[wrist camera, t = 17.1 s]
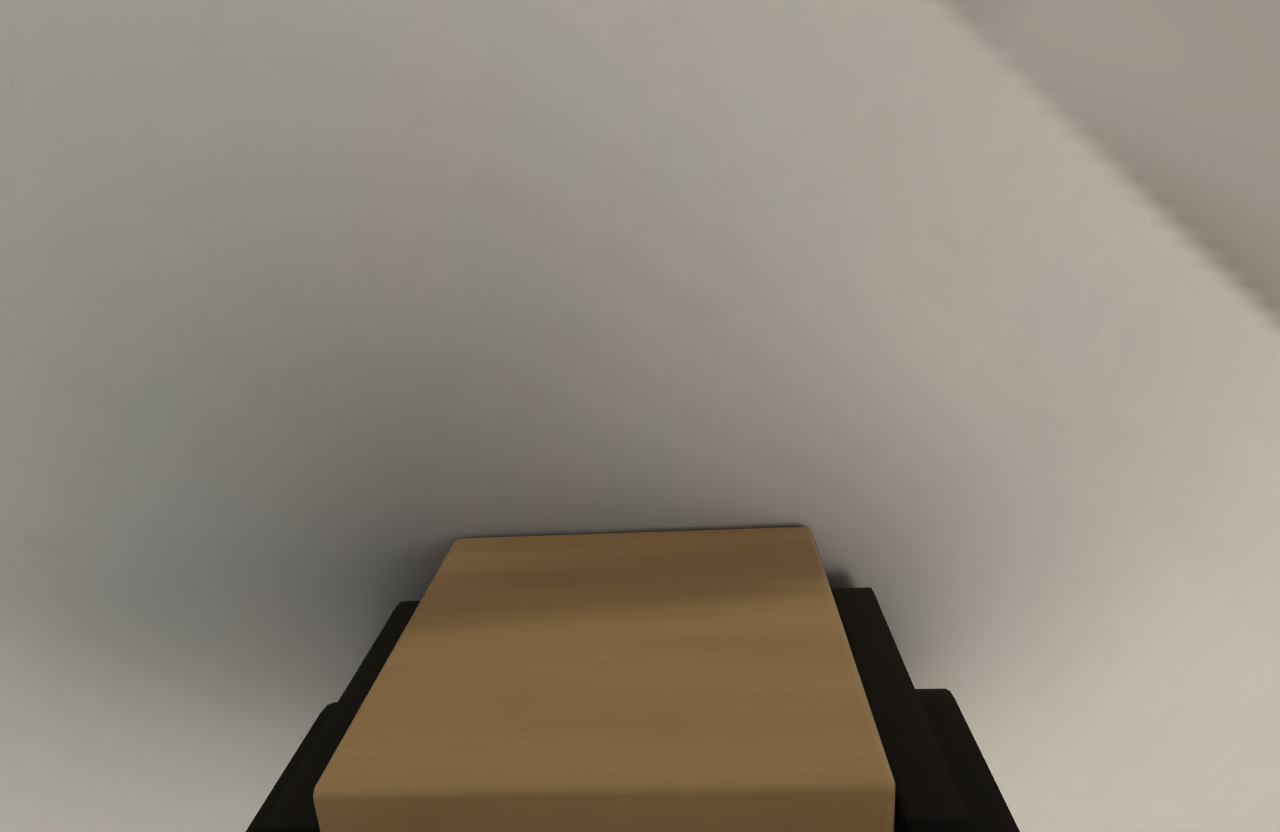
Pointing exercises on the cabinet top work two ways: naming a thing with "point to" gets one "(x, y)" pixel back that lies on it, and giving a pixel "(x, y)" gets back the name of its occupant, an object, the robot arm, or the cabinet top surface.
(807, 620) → the tile
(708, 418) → the cabinet top surface
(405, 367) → the cabinet top surface
